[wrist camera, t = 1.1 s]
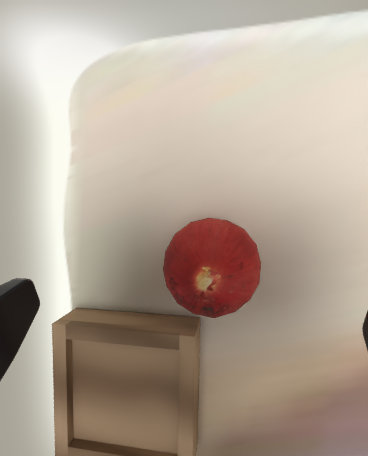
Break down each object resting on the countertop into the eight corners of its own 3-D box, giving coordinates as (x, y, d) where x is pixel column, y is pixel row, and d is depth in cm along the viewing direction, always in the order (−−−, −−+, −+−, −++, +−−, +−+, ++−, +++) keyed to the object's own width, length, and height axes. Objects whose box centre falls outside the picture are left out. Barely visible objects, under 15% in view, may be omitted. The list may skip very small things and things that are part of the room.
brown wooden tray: (197, 442, 23) (192, 480, 20) (78, 424, 24) (55, 457, 21) (200, 317, 22) (194, 336, 19) (76, 307, 24) (52, 323, 20)
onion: (249, 301, 21) (259, 358, 13) (172, 288, 22) (138, 334, 14) (261, 221, 21) (278, 232, 13) (181, 211, 22) (151, 215, 14)
